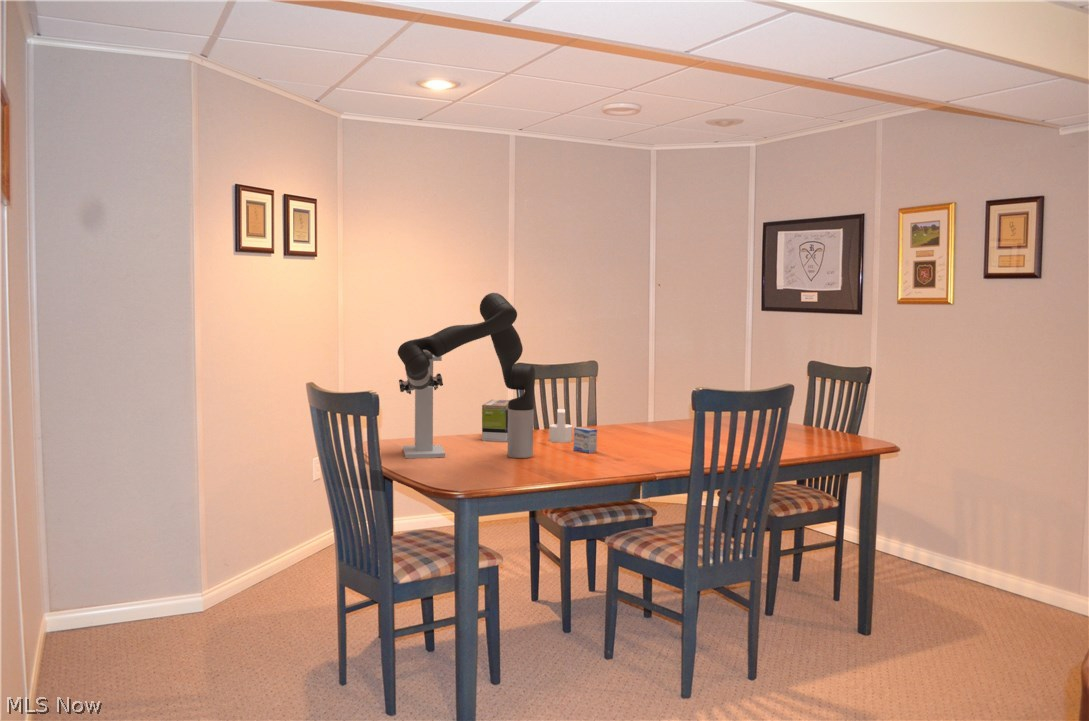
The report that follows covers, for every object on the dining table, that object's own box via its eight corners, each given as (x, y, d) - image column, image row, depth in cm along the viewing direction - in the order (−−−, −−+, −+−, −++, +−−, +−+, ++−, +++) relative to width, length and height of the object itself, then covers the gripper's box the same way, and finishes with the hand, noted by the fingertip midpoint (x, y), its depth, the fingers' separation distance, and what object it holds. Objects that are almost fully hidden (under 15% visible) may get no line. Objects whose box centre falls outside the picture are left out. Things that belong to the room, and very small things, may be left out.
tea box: (491, 434, 356) (491, 398, 354) (515, 435, 354) (515, 399, 352) (481, 441, 341) (481, 403, 340) (506, 442, 339) (506, 405, 338)
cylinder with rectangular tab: (572, 443, 340) (572, 412, 339) (549, 442, 340) (549, 412, 339) (571, 438, 349) (572, 409, 348) (549, 438, 349) (550, 408, 348)
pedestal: (445, 457, 308) (445, 356, 305) (405, 458, 305) (405, 356, 302) (440, 448, 324) (441, 352, 321) (402, 449, 321) (403, 352, 318)
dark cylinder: (433, 359, 294) (433, 352, 293) (423, 359, 293) (423, 352, 293) (426, 352, 319) (426, 346, 319) (417, 352, 319) (417, 346, 318)
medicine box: (573, 450, 325) (573, 427, 324) (580, 449, 328) (581, 426, 327) (589, 453, 320) (589, 430, 319) (596, 452, 323) (597, 429, 322)
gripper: (397, 389, 276) (402, 403, 291) (442, 382, 277) (445, 396, 293) (394, 367, 278) (400, 382, 293) (438, 360, 280) (441, 375, 295)
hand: (422, 389), depth 293 cm, fingers open, 8 cm apart
